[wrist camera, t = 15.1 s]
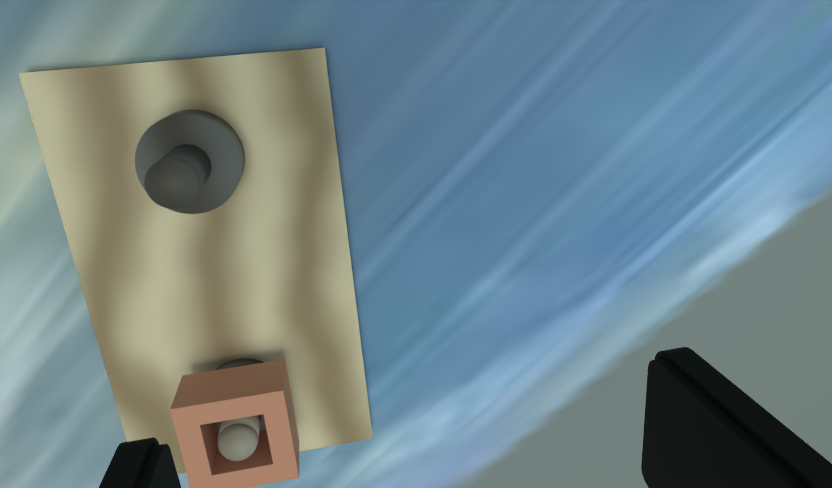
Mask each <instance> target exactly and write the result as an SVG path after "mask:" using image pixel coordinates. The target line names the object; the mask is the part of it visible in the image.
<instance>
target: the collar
mask: <svg viewBox="0 0 832 488" xmlns="http://www.w3.org/2000/svg"><path fill="white" fill-rule="evenodd" d="M170 411H171V415H172V419H173V423H174V426H175V430H176V434H177V438H178V442H179V446H180V449H181V453H182V457H183V461H184V465H185V469H186V473H187V476H188V480H189V484H190V488H248V487H253V486H259V485H264V484H269V483H274V482H280V481H285V480H290V479H296V478H299V436H298V430H297V425H296V419H295V413H294V407H293V402H292V396H291V390H290V385H289V379H288V373H287V367H286V362H285V359H284V360H277V361H271V362H265V363H258V364H252V365H246V366H239V367H233V368H227V369H221V370H214V371H208V372H202V373H195V374H189V375H183V376H182V378H181V381H180V383H179V386H178V389H177V392H176V394H175V397H174V400H173V403H172V405H171V408H170ZM261 414H264V420H265V425H266V430H260V431H259V440H258V445H257V447H256V449H255V451H254V452H253V454H252V455H250V456H249V457H248V458H246V459H244V460H241V461H231V460H229V459H227V458H225V457H224V456H223V455H222V454H221V453H220V451H219V448H218V435H219V432H218V427H217V423H216V422H221V421H226V420H232V419H238V418H244V417H250V416H256V415H261Z"/></svg>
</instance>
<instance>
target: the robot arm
mask: <svg viewBox="0 0 832 488" xmlns="http://www.w3.org/2000/svg"><path fill="white" fill-rule="evenodd" d="M644 422H645V423H644V438H643V451H642V474H643V477H644V480H645V482H646V484H647V485H648V487H649V488H832V464H831V463H830V462H829V461H827V460H826V459H825V458H824V457H823V456H821V455H820V454H819V453H818V452H816V451H815V450H814V449H813V448H811V447H810V446H809V445H808V444H807V443H805V442H804V441H803V440H802V439H800V438H799V437H798V436H797V435H795V434H794V433H793V432H792V431H791V430H790V429H788V428H787V427H786V426H785V425H783V424H782V423H781V422H780V421H778V420H777V419H776V418H775V417H773V416H772V415H771V414H770V413H769V412H767V411H766V410H765V409H764V408H763V407H761V406H760V405H759V404H758V403H756V402H755V401H754V400H753V399H751V398H750V397H749V396H748V395H747V394H745V393H744V392H743V391H742V390H741V389H739V388H738V387H737V386H736V385H734V384H733V383H732V382H731V381H729V380H728V379H727V378H726V377H724V376H723V375H722V374H721V373H720V372H718V371H717V370H716V369H715V368H714V367H712V366H711V365H710V364H709V363H707V362H706V361H705V360H704V359H702V358H701V357H700V356H699V355H698V354H696V353H695V352H694V351H693V350H691V349H690V348H688V347H682V348H677V349H671V350H665V351H660V352H658V353H657V354H656V356H655V360H652V361H650V363H649V366H648V377H647V392H646V407H645V421H644ZM99 488H181V485H180V482H179V478H178V475H177V471H176V467H175V464H174V460H173V456H172V453H171V449H170V447H169V445H168V444H161V445H159V442H158V440H157V439H156V438H154V437H153V438H147V439H141V440H135V441H129V442H123V443H121V444H120V445H119V446H118V448H117V450H116V452H115V454H114V456H113V458H112V460H111V463H110V465H109V467H108V469H107V471H106V473H105V475H104V478H103V480H102V482H101V484H100V486H99Z"/></svg>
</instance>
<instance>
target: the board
mask: <svg viewBox="0 0 832 488" xmlns="http://www.w3.org/2000/svg"><path fill="white" fill-rule="evenodd" d="M19 76H20V80H21V83H22V87H23V90H24V93H25V97H26V100H27V103H28V107H29V110H30V114H31V117H32V120H33V124H34V127H35V131H36V134H37V137H38V141H39V144H40V148H41V151H42V154H43V158H44V161H45V164H46V168H47V171H48V175H49V178H50V181H51V185H52V188H53V192H54V195H55V198H56V202H57V205H58V209H59V212H60V215H61V219H62V222H63V225H64V229H65V232H66V236H67V239H68V242H69V246H70V249H71V253H72V256H73V259H74V263H75V266H76V270H77V273H78V276H79V280H80V283H81V286H82V290H83V293H84V297H85V300H86V303H87V307H88V310H89V314H90V317H91V320H92V324H93V327H94V331H95V334H96V337H97V341H98V344H99V347H100V351H101V354H102V358H103V361H104V364H105V368H106V371H107V375H108V378H109V381H110V385H111V388H112V392H113V395H114V398H115V402H116V405H117V408H118V412H119V415H120V419H121V422H122V425H123V429H124V432H125V436H126V439H127V442H129V441H135V440H141V439H147V438H153V437H154V438H156V439H157V440H158V442H159V445H161V444H168V445H169V447H170V449H171V453H172V456H173V460H174V464H175V467H176V471H177V474H179V473H184V472H186V469H185V465H184V461H183V457H182V453H181V449H180V446H179V442H178V438H177V434H176V430H175V426H174V423H173V419H172V415H171V411H170V408H171V405H172V403H173V400H174V397H175V394H176V392H177V389H178V386H179V383H180V381H181V378H182V376H183V375H189V374H195V373H202V372H208V371H214V370H221V369H227V368H233V367H239V366H246V365H252V364H258V363H265V362H271V361H277V360H284V359H285V362H286V367H287V373H288V379H289V385H290V390H291V396H292V402H293V407H294V413H295V419H296V425H297V430H298V436H299V452H300V451H305V450H311V449H317V448H322V447H328V446H333V445H339V444H344V443H350V442H355V441H361V440H366V439H372V438H373V437H372V429H371V421H370V412H369V404H368V396H367V388H366V380H365V372H364V364H363V356H362V347H361V339H360V331H359V323H358V315H357V307H356V299H355V290H354V282H353V274H352V266H351V258H350V250H349V242H348V234H347V225H346V217H345V209H344V201H343V193H342V185H341V177H340V168H339V160H338V152H337V144H336V136H335V128H334V120H333V112H332V103H331V95H330V87H329V79H328V71H327V63H326V55H325V48H312V49H300V50H288V51H276V52H264V53H252V54H240V55H228V56H216V57H204V58H192V59H180V60H168V61H156V62H144V63H132V64H120V65H107V66H95V67H83V68H71V69H59V70H47V71H35V72H25V73H19ZM216 423H217V427H218V432H219V435H218V448H219V451H220V453H221V454H222V455H223V456H224V457H225V458H227V459H229V460H231V461H241V460H244V459H246V458H248V457H249V456H250V455H252V454H253V452H254V451H255V449H256V447H257V445H258V440H259V431H260V430H266V425H265V420H264V414H261V415H256V416H250V417H244V418H238V419H232V420H226V421H221V422H216Z"/></svg>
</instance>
